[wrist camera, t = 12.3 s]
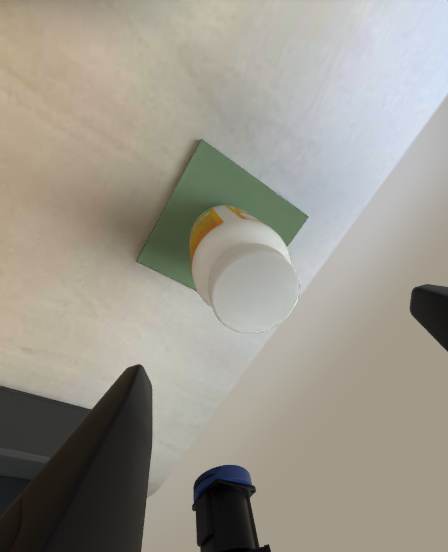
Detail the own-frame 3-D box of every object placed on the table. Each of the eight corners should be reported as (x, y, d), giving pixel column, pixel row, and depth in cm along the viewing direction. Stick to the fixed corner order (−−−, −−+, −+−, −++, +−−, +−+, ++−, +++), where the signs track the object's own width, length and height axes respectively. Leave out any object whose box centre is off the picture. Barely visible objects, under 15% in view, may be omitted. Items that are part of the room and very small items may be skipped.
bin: (124, 418, 26) (112, 469, 21) (79, 488, 29) (60, 545, 25) (-14, 382, 22) (-64, 435, 17) (-49, 468, 25) (-98, 532, 20)
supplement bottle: (196, 276, 20) (207, 358, 11) (182, 211, 18) (180, 249, 9) (259, 263, 21) (316, 332, 12) (252, 198, 18) (316, 222, 10)
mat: (306, 215, 20) (308, 216, 20) (240, 310, 23) (240, 312, 22) (201, 139, 17) (201, 138, 16) (137, 259, 19) (136, 261, 19)
